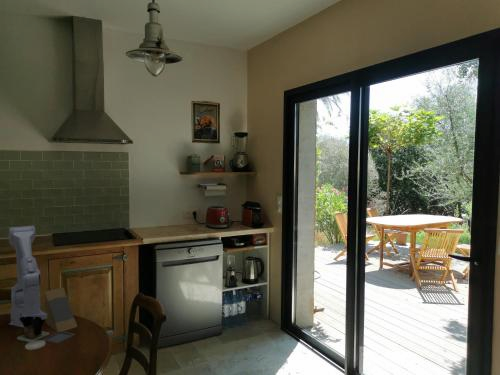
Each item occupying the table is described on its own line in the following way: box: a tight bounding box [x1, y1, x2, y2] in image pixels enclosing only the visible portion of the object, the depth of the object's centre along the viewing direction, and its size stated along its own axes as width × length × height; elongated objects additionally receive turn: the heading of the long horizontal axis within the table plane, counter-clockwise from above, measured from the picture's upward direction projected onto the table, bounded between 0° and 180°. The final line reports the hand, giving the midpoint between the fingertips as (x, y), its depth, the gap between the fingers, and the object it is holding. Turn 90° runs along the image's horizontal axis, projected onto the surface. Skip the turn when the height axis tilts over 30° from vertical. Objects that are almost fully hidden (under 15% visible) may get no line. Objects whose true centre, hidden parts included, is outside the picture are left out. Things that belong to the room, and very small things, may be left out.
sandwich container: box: [43, 287, 78, 333], centre depth 171 cm, size 9×15×15 cm, turn 47°
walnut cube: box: [23, 324, 43, 340], centre depth 160 cm, size 4×4×5 cm
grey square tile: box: [42, 331, 76, 345], centre depth 158 cm, size 8×8×1 cm
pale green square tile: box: [16, 330, 50, 343], centre depth 160 cm, size 8×8×1 cm
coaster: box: [24, 339, 46, 351], centre depth 152 cm, size 7×7×1 cm
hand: (33, 333), depth 160 cm, fingers closed on walnut cube, 4 cm apart
